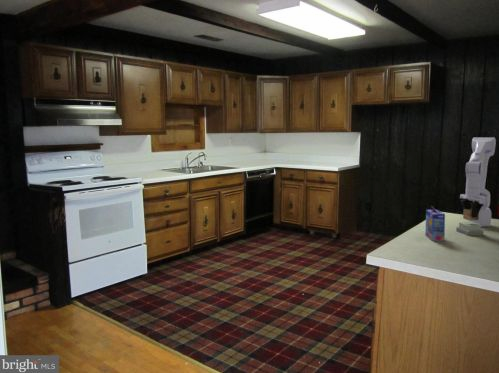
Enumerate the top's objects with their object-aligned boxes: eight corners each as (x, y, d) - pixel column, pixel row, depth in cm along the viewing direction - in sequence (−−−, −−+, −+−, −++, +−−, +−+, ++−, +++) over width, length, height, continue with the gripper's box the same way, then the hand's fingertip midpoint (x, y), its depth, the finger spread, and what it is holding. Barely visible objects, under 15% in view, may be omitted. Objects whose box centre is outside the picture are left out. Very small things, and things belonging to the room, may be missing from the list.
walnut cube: (471, 218, 193) (472, 208, 192) (478, 220, 188) (479, 210, 188) (463, 218, 192) (463, 209, 191) (469, 220, 188) (470, 211, 187)
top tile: (470, 226, 195) (471, 221, 194) (481, 230, 188) (481, 225, 188) (458, 227, 194) (459, 222, 193) (468, 231, 187) (468, 225, 187)
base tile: (471, 231, 196) (471, 226, 196) (483, 236, 188) (483, 230, 188) (456, 232, 195) (456, 227, 194) (467, 236, 187) (467, 231, 187)
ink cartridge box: (424, 235, 189) (425, 204, 187) (436, 235, 188) (438, 204, 186) (431, 241, 179) (433, 208, 177) (444, 241, 178) (446, 208, 176)
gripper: (454, 185, 195) (453, 213, 197) (475, 190, 180) (473, 220, 182) (468, 184, 195) (466, 212, 197) (490, 189, 181) (487, 219, 183)
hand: (470, 216), depth 190 cm, fingers closed on walnut cube, 4 cm apart
